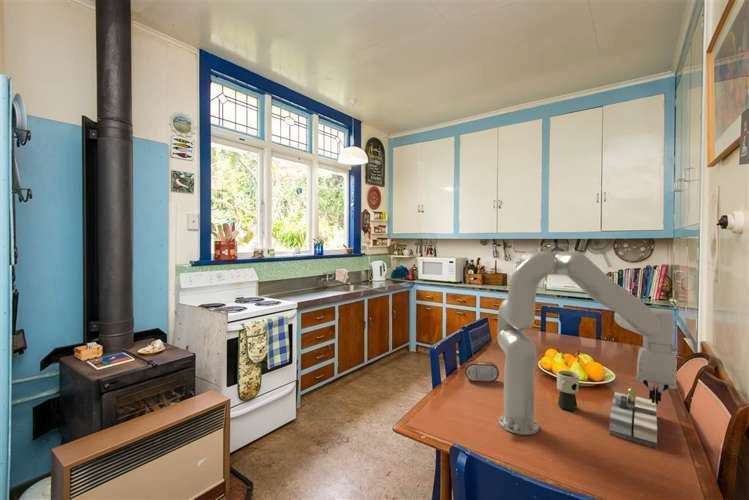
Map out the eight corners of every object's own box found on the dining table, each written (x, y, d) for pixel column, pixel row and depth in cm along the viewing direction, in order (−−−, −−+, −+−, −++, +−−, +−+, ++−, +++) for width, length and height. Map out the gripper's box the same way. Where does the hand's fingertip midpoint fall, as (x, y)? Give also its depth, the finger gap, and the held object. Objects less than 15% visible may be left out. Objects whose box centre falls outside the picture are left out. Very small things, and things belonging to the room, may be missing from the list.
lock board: (656, 447, 106) (657, 420, 106) (609, 434, 114) (609, 409, 113) (655, 416, 125) (655, 392, 125) (614, 406, 133) (615, 384, 132)
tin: (497, 380, 158) (497, 361, 158) (499, 383, 155) (499, 364, 155) (463, 379, 160) (463, 360, 159) (464, 381, 156) (464, 363, 156)
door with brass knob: (635, 409, 118) (636, 390, 118) (615, 404, 122) (615, 386, 121) (635, 406, 120) (636, 387, 120) (615, 401, 123) (616, 383, 123)
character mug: (572, 416, 125) (573, 380, 125) (551, 409, 131) (552, 374, 130) (582, 406, 133) (583, 372, 132) (562, 400, 138) (563, 367, 138)
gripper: (686, 348, 113) (684, 404, 114) (629, 340, 123) (627, 391, 123) (688, 354, 107) (686, 413, 108) (628, 345, 117) (626, 399, 117)
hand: (654, 401), depth 116 cm, fingers closed
